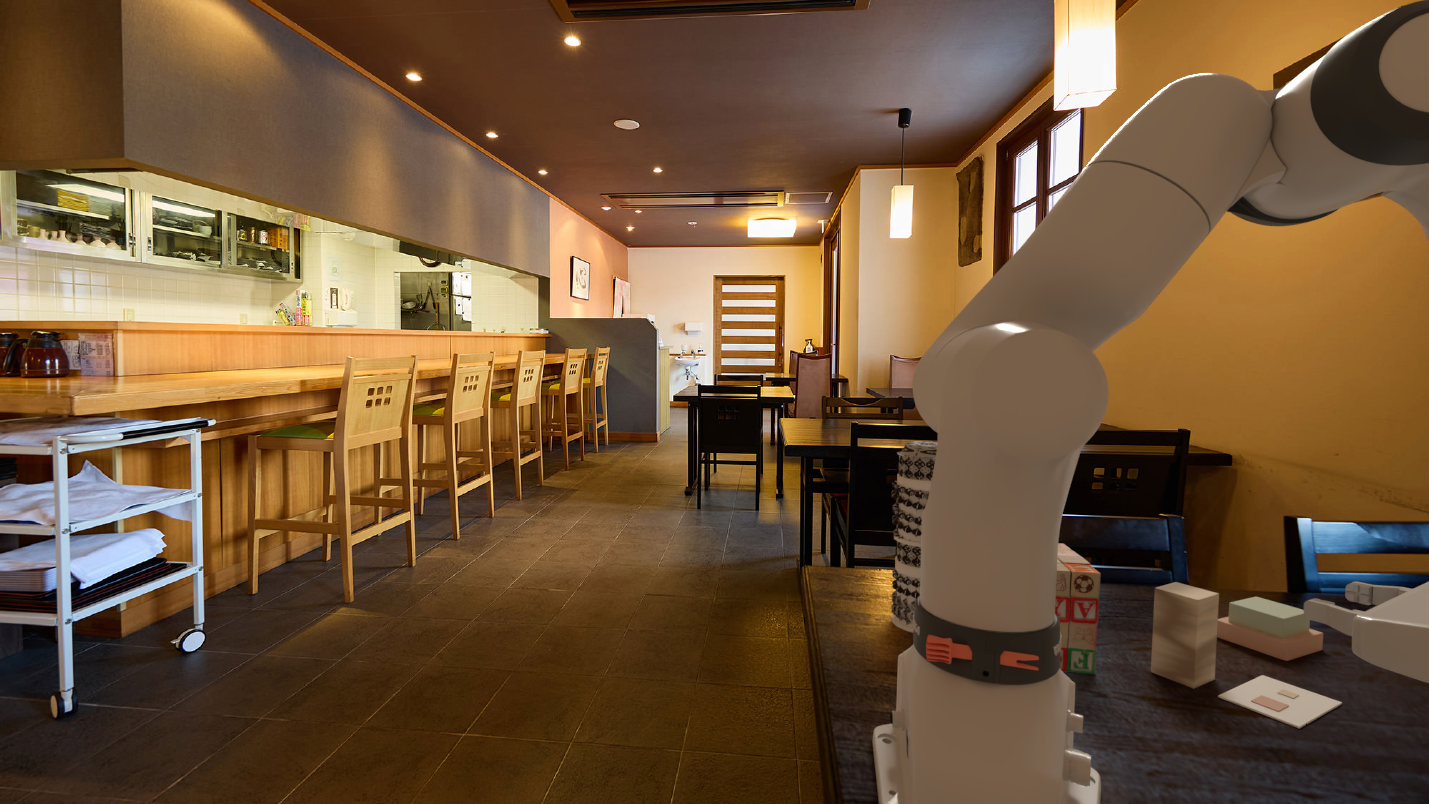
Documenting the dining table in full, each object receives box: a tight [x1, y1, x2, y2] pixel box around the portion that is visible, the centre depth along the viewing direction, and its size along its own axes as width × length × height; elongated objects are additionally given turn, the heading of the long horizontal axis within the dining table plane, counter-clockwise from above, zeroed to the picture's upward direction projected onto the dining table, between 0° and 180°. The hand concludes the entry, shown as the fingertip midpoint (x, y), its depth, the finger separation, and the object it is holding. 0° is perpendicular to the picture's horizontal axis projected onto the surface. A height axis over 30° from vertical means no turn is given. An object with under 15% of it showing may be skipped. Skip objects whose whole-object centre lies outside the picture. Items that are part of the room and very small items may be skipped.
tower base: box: [1217, 596, 1324, 662], centre depth 86 cm, size 8×8×5 cm
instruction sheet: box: [1217, 674, 1343, 730], centre depth 71 cm, size 10×7×1 cm
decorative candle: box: [890, 440, 938, 634], centre depth 91 cm, size 9×9×25 cm
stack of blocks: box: [1055, 542, 1102, 675], centre depth 87 cm, size 21×6×12 cm, turn 169°
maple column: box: [1150, 581, 1220, 689], centre depth 76 cm, size 4×4×10 cm
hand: (1328, 598), depth 65 cm, fingers open, 8 cm apart
